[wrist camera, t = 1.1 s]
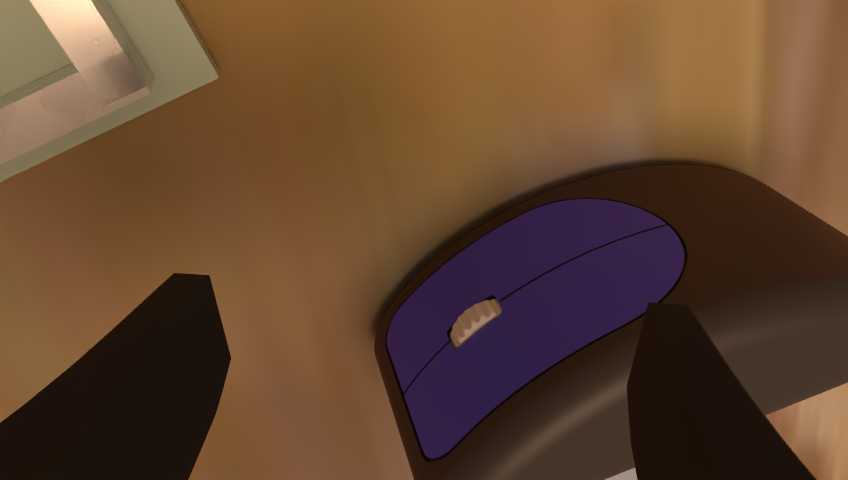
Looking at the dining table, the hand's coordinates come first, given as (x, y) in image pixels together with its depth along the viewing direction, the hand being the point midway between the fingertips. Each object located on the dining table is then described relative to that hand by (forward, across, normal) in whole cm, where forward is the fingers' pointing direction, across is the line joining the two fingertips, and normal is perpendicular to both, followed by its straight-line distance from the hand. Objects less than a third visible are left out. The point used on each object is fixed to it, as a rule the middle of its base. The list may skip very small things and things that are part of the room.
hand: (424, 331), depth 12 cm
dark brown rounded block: (+13, -4, +9) cm, 17 cm away
